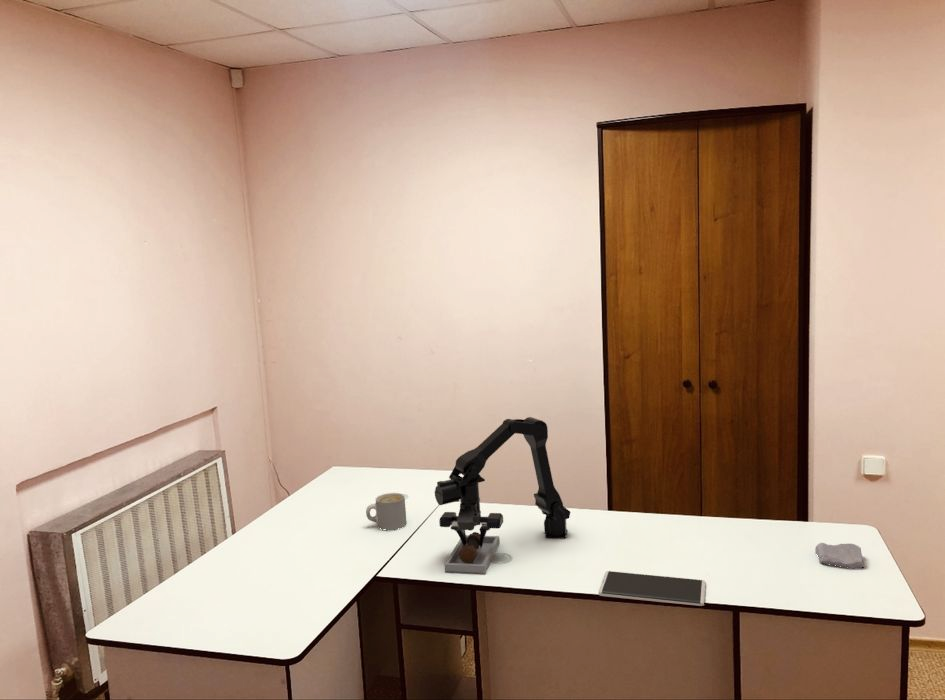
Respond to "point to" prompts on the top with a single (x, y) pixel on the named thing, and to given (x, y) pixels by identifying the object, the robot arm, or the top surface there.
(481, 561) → the parts tray
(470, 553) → the bolt
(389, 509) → the coffee mug
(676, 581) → the smartphone
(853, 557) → the stone block
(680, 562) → the top surface
